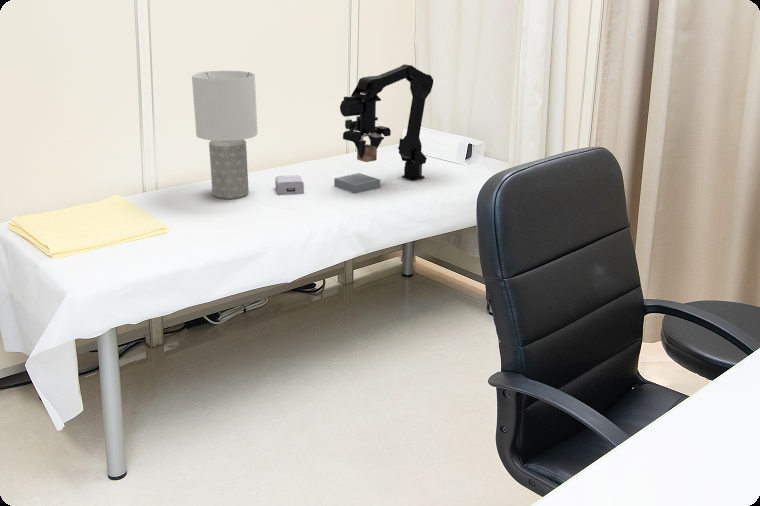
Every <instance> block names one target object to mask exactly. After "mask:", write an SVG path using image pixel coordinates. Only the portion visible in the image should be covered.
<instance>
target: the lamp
mask: <svg viewBox="0 0 760 506" xmlns="http://www.w3.org/2000/svg"><path fill="white" fill-rule="evenodd" d="M255 75H256V74H255V73H252V72H251V71H250V72H249V71H241V70H210V71H208V70H207V71H201V72H196V73H193V74H191V82H192V95H193V111H194V120H195V123H194V124H195V136H196V137H197V138H199V139H202V140H206V141H209V142H208V148H209V151H208V152H209V165H210V176H211V189H212V190H211V193H212V195H213V197H215V198H217V199H220V198H222V200H223V199H224V200H236V199H235V198H237V199H242V198H244V196H245V197H247V195H248V194H249V190H250V189H249V173H248V151H247V141H246V140H248V139H251V138H252V139H253V138H254V137H256V136H257V135H258V116H257V113H258V112H257V100H256V99H257V96H256V95H257V93H256V76H255ZM241 197H242V198H241Z"/></svg>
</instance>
